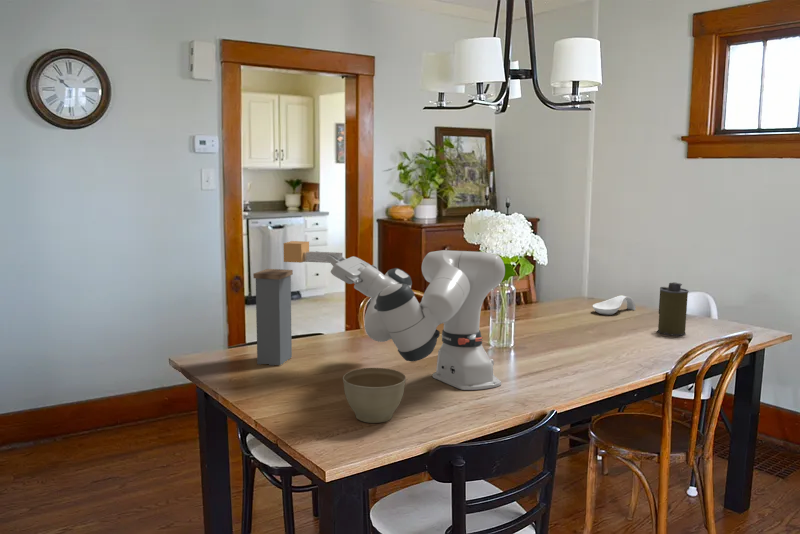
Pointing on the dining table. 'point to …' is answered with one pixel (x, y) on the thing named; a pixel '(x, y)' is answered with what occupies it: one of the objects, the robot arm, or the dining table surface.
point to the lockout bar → (306, 253)
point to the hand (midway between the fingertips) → (329, 256)
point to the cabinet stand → (273, 316)
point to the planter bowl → (374, 393)
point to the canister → (672, 310)
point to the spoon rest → (613, 305)
